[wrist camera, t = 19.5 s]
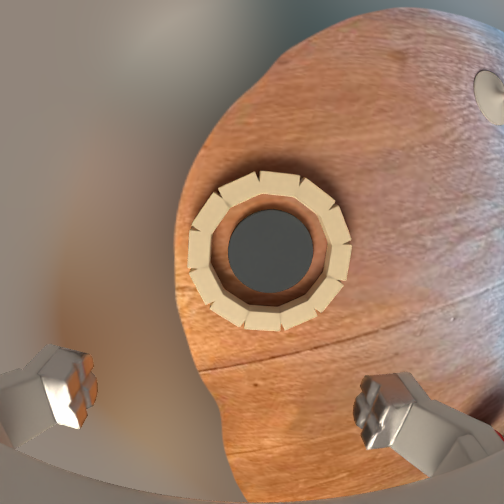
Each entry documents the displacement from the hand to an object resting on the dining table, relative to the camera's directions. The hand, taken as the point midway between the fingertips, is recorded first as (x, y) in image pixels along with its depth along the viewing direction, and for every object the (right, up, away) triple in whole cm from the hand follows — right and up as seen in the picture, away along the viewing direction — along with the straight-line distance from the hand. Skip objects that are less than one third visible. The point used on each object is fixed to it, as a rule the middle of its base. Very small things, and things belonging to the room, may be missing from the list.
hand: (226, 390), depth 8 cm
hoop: (+2, +4, +22) cm, 22 cm away
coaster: (+3, +4, +22) cm, 22 cm away
